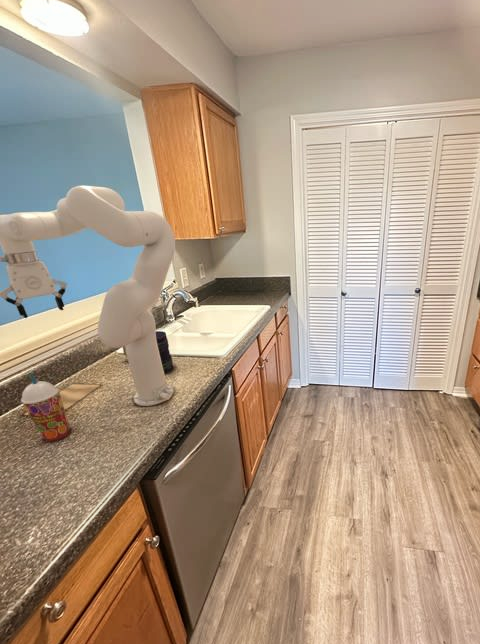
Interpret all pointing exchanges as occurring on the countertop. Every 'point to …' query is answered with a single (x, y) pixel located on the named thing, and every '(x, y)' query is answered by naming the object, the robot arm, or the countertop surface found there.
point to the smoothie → (46, 409)
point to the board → (74, 394)
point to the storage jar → (164, 351)
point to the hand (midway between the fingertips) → (44, 313)
